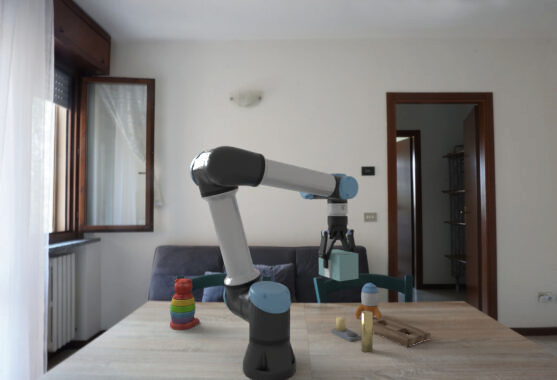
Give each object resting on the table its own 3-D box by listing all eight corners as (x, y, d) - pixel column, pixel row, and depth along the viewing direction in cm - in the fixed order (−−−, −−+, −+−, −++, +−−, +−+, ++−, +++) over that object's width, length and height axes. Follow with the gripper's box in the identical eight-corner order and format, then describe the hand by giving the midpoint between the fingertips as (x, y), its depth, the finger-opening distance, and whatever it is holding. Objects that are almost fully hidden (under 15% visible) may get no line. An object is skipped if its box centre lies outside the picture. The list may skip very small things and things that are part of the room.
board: (407, 347, 117) (407, 339, 117) (363, 328, 134) (363, 321, 134) (430, 340, 123) (430, 332, 123) (385, 322, 140) (385, 316, 140)
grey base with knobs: (349, 341, 121) (349, 326, 121) (331, 332, 130) (331, 318, 130) (361, 338, 124) (361, 323, 124) (343, 329, 132) (343, 315, 133)
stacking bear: (201, 321, 140) (201, 275, 141) (192, 330, 130) (192, 281, 131) (174, 320, 142) (175, 275, 142) (163, 329, 131) (164, 281, 132)
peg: (367, 353, 112) (366, 314, 112) (359, 349, 115) (359, 311, 115) (375, 351, 114) (374, 313, 114) (366, 347, 117) (366, 310, 117)
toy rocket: (386, 324, 141) (381, 288, 139) (359, 328, 141) (354, 293, 139) (378, 312, 151) (374, 278, 149) (354, 316, 151) (348, 283, 149)
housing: (339, 281, 125) (339, 255, 126) (318, 274, 137) (318, 250, 137) (358, 278, 130) (358, 253, 130) (336, 272, 141) (336, 249, 141)
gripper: (319, 216, 125) (320, 281, 125) (366, 214, 135) (366, 274, 135) (308, 215, 132) (308, 277, 131) (353, 213, 142) (353, 271, 142)
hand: (338, 275), depth 133 cm, fingers closed on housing, 9 cm apart
